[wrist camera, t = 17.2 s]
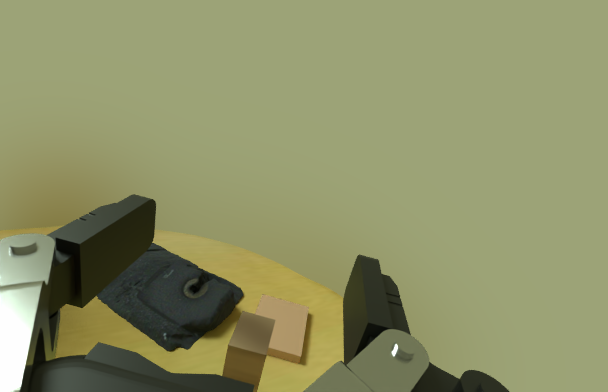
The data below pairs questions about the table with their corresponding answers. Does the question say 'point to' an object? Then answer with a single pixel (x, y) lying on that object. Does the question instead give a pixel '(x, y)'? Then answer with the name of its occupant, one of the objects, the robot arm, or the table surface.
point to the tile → (284, 327)
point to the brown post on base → (248, 348)
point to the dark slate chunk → (170, 298)
